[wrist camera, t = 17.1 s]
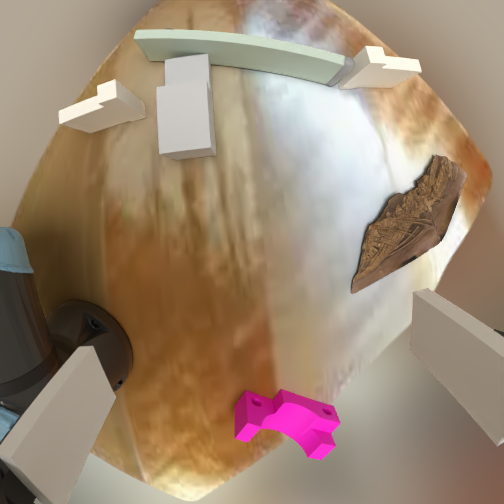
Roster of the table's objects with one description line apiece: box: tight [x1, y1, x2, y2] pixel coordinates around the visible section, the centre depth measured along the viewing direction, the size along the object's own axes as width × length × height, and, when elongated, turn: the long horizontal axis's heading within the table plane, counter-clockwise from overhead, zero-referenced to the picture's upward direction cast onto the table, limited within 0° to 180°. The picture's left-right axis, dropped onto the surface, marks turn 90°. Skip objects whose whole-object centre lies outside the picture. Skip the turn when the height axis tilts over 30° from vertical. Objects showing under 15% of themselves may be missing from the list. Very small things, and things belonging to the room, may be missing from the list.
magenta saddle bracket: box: [235, 389, 340, 460], centre depth 40 cm, size 15×6×8 cm, turn 61°
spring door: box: [134, 29, 355, 86], centre depth 28 cm, size 24×3×7 cm, turn 81°
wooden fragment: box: [351, 155, 467, 294], centre depth 37 cm, size 26×11×1 cm, turn 131°
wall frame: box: [59, 46, 422, 133], centre depth 28 cm, size 41×2×10 cm, turn 99°
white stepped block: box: [156, 54, 217, 160], centre depth 29 cm, size 5×12×8 cm, turn 5°
